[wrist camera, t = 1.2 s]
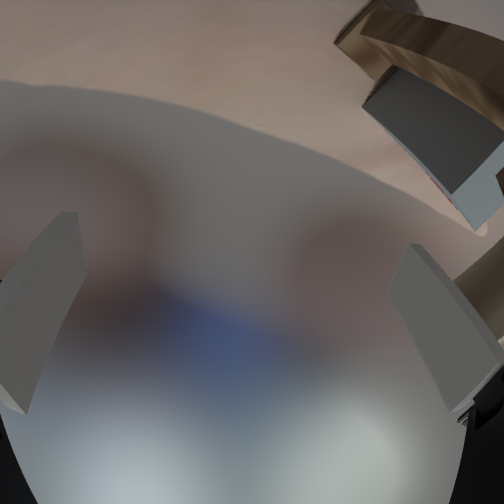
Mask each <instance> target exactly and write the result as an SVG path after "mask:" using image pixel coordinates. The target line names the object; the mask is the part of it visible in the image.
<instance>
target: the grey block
mask: <svg viewBox="0 0 504 504" xmlns="http://www.w3.org/2000/svg"><path fill="white" fill-rule="evenodd" d="M362 108H363V109H364V110H365V111H366V112H367V113H368V114H369V115H370V116H371V117H372V118H374V119H375V120H376V121H377V122H378V123H379V124H380V125H381V126H382V127H383V128H384V129H385V131H386V132H387V133H388V134H389V135H390V136H391V137H392V138H393V139H394V140H395V141H396V142H397V143H398V144H399V145H400V146H401V147H402V148H403V149H404V150H405V151H406V152H407V153H408V154H409V155H410V156H411V157H412V158H413V159H414V160H415V161H416V162H417V163H418V164H419V165H420V166H421V167H422V168H423V169H424V170H425V172H426V173H427V174H428V175H429V176H430V177H431V178H432V179H433V180H434V181H435V183H436V184H437V185H438V186H439V187H440V188H441V189H442V191H443V192H444V193H445V194H446V195H447V197H448V198H449V199H450V200H451V201H452V203H453V204H454V205H455V206H456V208H457V209H458V210H459V211H460V213H461V214H462V215H463V216H464V218H465V219H466V220H467V222H468V223H469V224H470V226H471V227H472V228H473V230H474V231H476V230H477V229H478V228H479V227H480V226H481V225H482V224H483V223H485V222H486V221H487V220H488V219H489V218H490V217H491V216H492V215H493V214H494V213H495V212H496V211H497V210H498V209H499V208H500V207H501V206H502V205H503V204H504V197H503V194H502V191H501V189H500V186H499V184H498V181H497V179H496V176H495V175H496V174H497V173H498V172H499V171H500V170H501V169H502V168H503V167H504V131H503V130H502V129H500V128H499V127H498V126H496V125H495V124H494V123H492V122H491V121H490V120H488V119H487V118H485V117H484V116H483V115H481V114H480V113H478V112H477V111H475V110H474V109H472V108H471V107H469V106H468V105H466V104H465V103H463V102H462V101H460V100H459V99H457V98H455V97H454V96H452V95H450V94H449V93H447V92H445V91H444V90H442V89H440V88H438V87H437V86H435V85H433V84H431V83H429V82H428V81H426V80H424V79H422V78H420V77H418V76H416V75H414V74H412V73H410V72H408V71H406V70H404V69H402V68H400V67H399V68H398V70H397V71H396V72H395V73H394V74H393V75H392V76H391V77H390V78H389V79H388V80H387V81H386V82H385V83H384V84H383V85H382V86H381V87H380V89H379V90H378V91H377V92H376V93H375V94H374V95H373V96H372V97H371V98H370V99H369V100H368V101H367V102H366V103H365V104H364V106H363V107H362Z"/></svg>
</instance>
